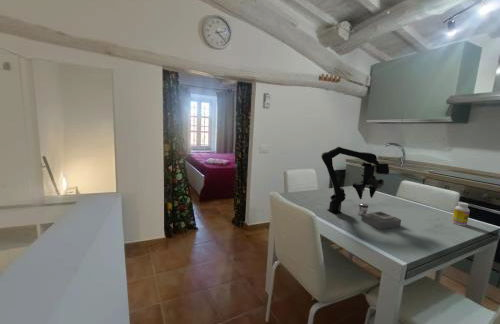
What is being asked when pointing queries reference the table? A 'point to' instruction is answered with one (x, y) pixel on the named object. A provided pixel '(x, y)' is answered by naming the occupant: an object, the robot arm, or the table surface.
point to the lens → (362, 209)
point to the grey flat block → (381, 220)
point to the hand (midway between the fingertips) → (366, 198)
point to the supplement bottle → (461, 214)
